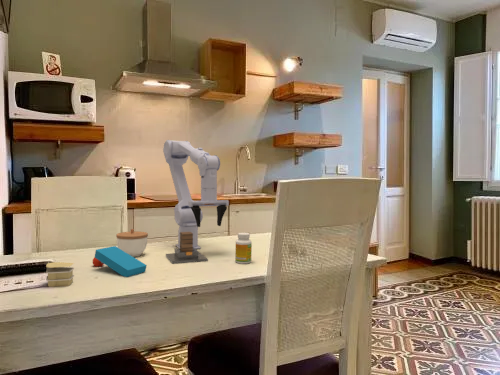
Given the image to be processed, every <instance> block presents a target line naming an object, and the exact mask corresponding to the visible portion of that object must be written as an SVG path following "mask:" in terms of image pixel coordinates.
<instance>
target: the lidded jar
mask: <svg viewBox="0 0 500 375" xmlns="http://www.w3.org/2000/svg"><path fill="white" fill-rule="evenodd" d="M134 230H135V229H134V228H131V229H130V231H122V232H118V233H116V247H118V248H119V249H121V250H122V251H124V252H126V253H127V254H129V255H131V256H132V257H134V258H135V257H140V256H142V254H143V253H144V252H145V250H146V248H147V246H148V236H149V234H148V232H147V231H146V232H145V231H134Z"/></svg>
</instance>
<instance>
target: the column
mask: <svg viewBox="0 0 500 375" xmlns="http://www.w3.org/2000/svg"><path fill="white" fill-rule="evenodd" d="M180 251H181V252H184V251H193V233H192V232H180Z"/></svg>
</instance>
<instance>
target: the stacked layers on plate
mask: <svg viewBox="0 0 500 375" xmlns="http://www.w3.org/2000/svg"><path fill="white" fill-rule="evenodd" d="M74 264H75V263H74V262H60V261H59V262H58V261H57V262H49V263H46V266H45V267H46V271H45V273H46V274H47V276H46V278H45V279H46V281H47V286H48V287H50V288H53V287H54V288H55V287H66V286H67V287H69V286H70V285H71V284H72V283H73V280H74V279H73V278H74V277H75V274H74V272H73V271H74V269H75V267H72V265H74Z"/></svg>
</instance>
